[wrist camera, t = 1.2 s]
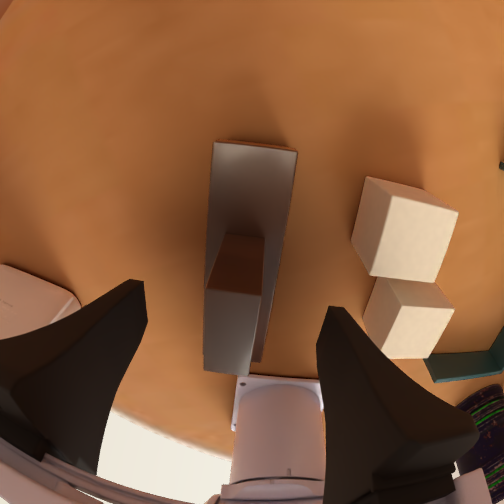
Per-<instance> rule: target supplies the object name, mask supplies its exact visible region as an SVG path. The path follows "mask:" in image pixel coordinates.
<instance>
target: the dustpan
mask: <svg viewBox="0 0 504 504" xmlns="http://www.w3.org/2000/svg"><path fill="white" fill-rule="evenodd" d="M500 169H502V170H504V163H503V162H501V163H500ZM423 360H424V362H425V364H426V366H427V369H428V371H429V373H430V375H431V377H432V380H433V382H434V383H442V382H450V381H458V380H466V379H472V378H479V377H485V376H491V375H496V374H501V373H502V372H503V370H504V327H503V329H502V330H501V332H500V334H499V335H498V337H497V339H496V340H495V342H494V343H493V345H492V347H491V348H490V350H489V351H480V352H467V353H451V354H430V355H429V357H428V358H423Z"/></svg>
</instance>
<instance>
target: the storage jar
mask: <svg viewBox="0 0 504 504" xmlns="http://www.w3.org/2000/svg"><path fill="white" fill-rule="evenodd" d="M456 408H458V409H460V410H462V411H465V412H467V413H469V414H471V415H472V417H473V419H474V421H475V424H476V426H477V429H478V431H479V434H480V436H479V439H478V441H477V442H476V444H475V445H474V446H473V447H472V448H471V449H470V450H469V451H467V452H466V453H465V454H464V455H463V456H461V457H460V458H459V459H458V460H456V463H457V467H458V470H459V473H460V476H461V475H464V474H466V473H469V472H472V471H474V470H477V469H479V468H482V470H483V473H484V476H485V479H486V483H487V486H488V490H489V493H490V497H491V501H492V504H496V503H498V502H499V501H501V500H503V499H504V393H503V389H502V387H501V386H500V385H498V384H495V385H490V386H488V387H485V388H483V389H481V390H479V391H477V392H476V393H474V394H472V395H471V396H469V397H468V398H467V399H465V400H464V401H462V402H461V403H460V404H459V405H457V406H456Z"/></svg>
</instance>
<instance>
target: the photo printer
mask: <svg viewBox="0 0 504 504" xmlns="http://www.w3.org/2000/svg"><path fill="white" fill-rule="evenodd" d="M79 309H81V306H80V303H79V301H78V300H77V298H76V297H75V296H74V295H73V294H72V293H71V292H69V291H67V290H65V289H63V288H61V287H59V286H56V285H54V284H52V283H49V282H47V281H45V280H42V279H40V278H37V277H35V276H32V275H30V274H28V273H25V272H23V271H20V270H18V269H15V268H12V267H10V266H7V265H0V340H1V339H6V338H10V337H14V336H18V335H21V334H25V333H28V332H31V331H33V330H36V329H39V328H41V327H44V326H47V325H49V324H52V323H54V322H56V321H58V320H60V319H62V318H64V317H66V316H68V315H70V314H72V313H74V312H76V311H77V310H79Z"/></svg>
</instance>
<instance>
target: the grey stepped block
mask: <svg viewBox="0 0 504 504" xmlns="http://www.w3.org/2000/svg"><path fill="white" fill-rule="evenodd" d="M297 156H298V151H297V150H296V149H295V148H289V147H286V146H279V145H272V144H264V143H256V142H247V141H237V140H220V139H218V140H216V141H214V142H213V148H212V160H211V172H210V185H209V199H208V215H207V232H206V251H205V274H204V305H203V355H204V367H203V369H204V370H205V371H211V372H217V373H224V374H232V375H239V376H249V371H250V365H251V362H258V363H260V362H261V359H262V355H263V350H264V345H265V340H266V335H267V330H268V324H269V319H270V314H271V309H272V304H273V298H274V293H275V288H276V282H277V277H278V271H279V266H280V260H281V254H282V249H283V243H284V237H285V231H286V225H287V219H288V213H289V207H290V201H291V195H292V189H293V182H294V176H295V170H296V163H297Z"/></svg>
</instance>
